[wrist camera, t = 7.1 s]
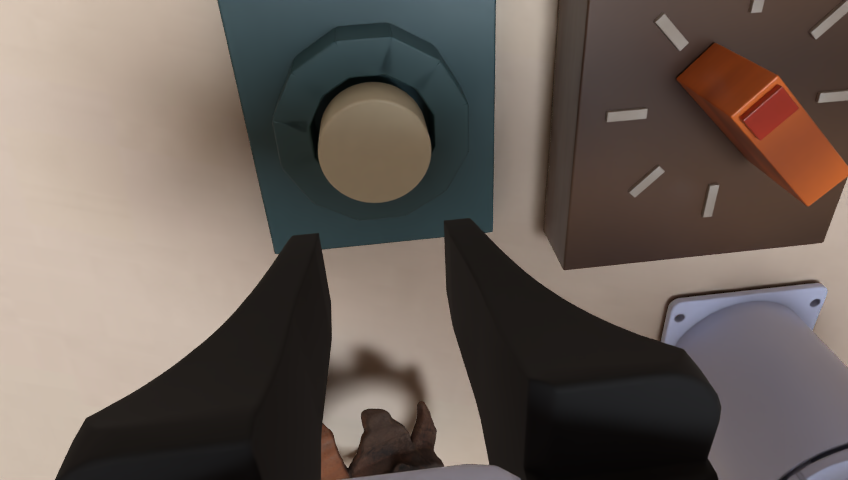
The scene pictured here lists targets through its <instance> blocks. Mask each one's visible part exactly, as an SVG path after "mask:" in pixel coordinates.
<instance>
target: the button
mask: <svg viewBox="0 0 848 480" xmlns="http://www.w3.org/2000/svg"><path fill="white" fill-rule="evenodd" d="M318 159H319V163H320V166H321V169H322V172H323V173H324V175H325V177H326V178H327V180H328V181H329V182H330V184H331V185H332V186H333V187H334V188H336V189H337V190H338V191H339V192H341V193H342V194H344V195H346V196H347V197H350V198H352V199H354V200H358V201H361V202H367V203H382V202H388V201H391V200H395V199H397V198H400V197H402V196H403V195H405V194H407V193H408V192H410V191H411V190H412V189H413V188H415V187H416V186H417V185H418V183H419V182H420V181H421V180H422V178H423V177H424V175H425V174H426V172H427V169H428V167H429V164H430V160H431V141H430V137H429V133H428V130H427V126H426V123H425V119H424V116H423V114H422V111H421V109H420V108H419V106H418V104H417V103H416V102H415V101H414V99H413V98H412V97H411V96H409V95H408V94H407V93H406V92H404V91H403V90H401V89H399V88H398V87H395V86H393V85H390V84H386V83H381V82H365V83H359V84H356V85H353V86H351V87H348V88H346V89H345V90H343V91H341V92H340V93H339V94H338V95H336V96H335V97H334V98H333V99H332V100H331V102H330V103H329V104H328V106H327V107H326V109H325V111H324V113H323V116H322V119H321V124H320V132H319V142H318Z"/></svg>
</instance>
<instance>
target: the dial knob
mask: <svg viewBox="0 0 848 480" xmlns="http://www.w3.org/2000/svg"><path fill="white" fill-rule="evenodd" d="M676 79H677V81H678V82H679V83H680V84H681V85H682V87H683V88H684V89H685V90H686V91H687V92H688V93H689V94H690V96H691V97H692V98H693V99H694V100H695V101H696V102H697V104H698V105H699V106H700V107H701V108H702V109H703V110H704V111H705V113H706V114H707V115H708V116H709V117H710V118H711V119H712V120H713V122H714V123H715V124H716V125H717V126H718V127H719V128H720V130H721V131H722V132H723V133H724V134H725V135H726V136H727V137H728V139H729V140H730V141H731V142H732V143H733V144H734V145H735V147H736V148H737V149H738V150H739V151H740V152H741V153H742V154H743V156H744V157H745V158H746V159H747V160H748V161H749V162H750V163H752V164H753V165H754V166H756V167H757V168H758V169H759V170H761V171H762V172H763V173H765V174H766V175H767V176H768V177H770V178H771V179H772V180H774V181H775V182H776V183H777V184H779V185H780V186H781V187H783V188H784V189H785V190H786V191H788V192H789V193H790V194H792V195H793V196H794V197H795V198H797V199H798V200H799V201H801V202H802V203H803V204H804V205H806V206H810V205H811V204H813V203H814V202H815V201H817V200H818V199H819V198H820V197H822V196H823V195H824V194H826V193H827V192H828V191H830V190H831V189H832V188H833V187H835V186H836V185H837V184H839V183H840V182H841V181H842V180H844V179H845V178H846V177H848V166H847V164H846V163H845V162H844V160H843V159H842V158H841V156H840V155H839V154H838V153H837V151H836V150H835V149H834V147H833V146H832V145H831V143H830V142H829V141H828V140H827V138H826V137H825V136H824V134H823V133H822V132H821V130H820V129H819V128H818V126H817V125H816V124H815V123H814V121H813V120H812V119H811V117H810V116H809V115H808V113H807V112H806V111H805V109H804V108H803V107H802V106H801V104H800V103H799V102H798V100H797V99H796V98H795V96H794V95H793V94H792V92H791V91H790V90H789V89H788V87H787V86H786V85H785V83H784V82H783V81H782V79H781V78H780V77H779V76H778V75H777V74H775V73H773V72H771V71H769V70H767V69H765V68H763V67H761V66H759V65H757V64H756V63H754V62H752V61H750V60H748V59H746V58H744V57H742V56H740V55H738V54H736V53H735V52H733V51H731V50H729V49H727V48H725V47H723V46H721V45H719V44H717V43H714V44H713V45H712V46H710V47H709V48H708V49H707V50H706V51H705V52H704V53H703V54H702V55H701V56H700V57H699V58H698V59H697V60H695V61H694V62H693V63H692V64H691V65H690V66H689V67H688V68H687V69H686V70H685V71H684V72H683V73H681V74H680V75H679V76H678V77H677V78H676Z"/></svg>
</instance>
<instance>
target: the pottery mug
mask: <svg viewBox="0 0 848 480" xmlns="http://www.w3.org/2000/svg"><path fill="white" fill-rule="evenodd" d="M361 419H362V424H363V428H364V433H363V434H362V436H361V441H360V444H359V448H358V450H357V454H356V455H355V457H354V459H353V461H352V463H351V464H350V466H349V468H347V467H346V466H345V464H344V462H343V460H342V458H341V456H340V454H339V451H338V449H337V446H336V444H335V440H334V435H333V433H332V431H331V430H330V429H328V428H327V427H326V426H325V425H324V424H323V423H322V435H321V480H342V479H350V478H358V477H366V476H374V475H382V474H390V473H398V472H406V471H414V470H422V469H430V468H438V467H444V464H443V463H442V461H441V460H440V459H439V458H438V457H437V456H436V454H435V452H434V444H435V440H436V432H437V430H436V428H435V426H434V423H433V420H432V418H431V415H430V412H429V410H428V408H427V406H426V404H425V402H423V401H420V402H419V403H418V405H417V419H416V423H415V426H414V429H413V431H412V434H411V437H410V434H409V432H408V430H407V429H406V428H405V427H404V426H403V425H402V424H400V423H399V422H397V421H395V420H394V419H392V417H391V415H390V414H389V413H388V412H387V411H385V410H383V409H367V410H364V411H363V412H362V413H361Z"/></svg>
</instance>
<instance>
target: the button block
mask: <svg viewBox="0 0 848 480" xmlns="http://www.w3.org/2000/svg"><path fill="white" fill-rule="evenodd" d="M218 5H219V9H220V14H221V18H222V23H223V27H224V31H225V36H226V40H227V45H228V49H229V53H230V58H231V62H232V67H233V71H234V75H235V80H236V84H237V89H238V93H239V97H240V102H241V106H242V111H243V115H244V119H245V124H246V128H247V133H248V137H249V141H250V146H251V150H252V155H253V159H254V163H255V168H256V172H257V177H258V181H259V186H260V190H261V194H262V199H263V203H264V208H265V212H266V216H267V221H268V225H269V230H270V234H271V238H272V243H273V247H274V252H275V254H280V252H281V251H282V249H283V247H284V246H285V244H286V243H287V241H288V240H289V239H290V238H291V237H292V236H293V235H303V234H313V233H319V237H320V242H321V248H322V249H331V248H341V247H351V246H361V245H371V244H380V243H390V242H400V241H410V240H420V239H430V238H440V237H444V220H454V219H464V218H470V219H472V220H473V221H474V222H475V223H476V224H477V225H478V226H479V228H480V229H481V230H482V231H483V232H484V233H489V232H492V231H493V181H494V104H495V27H496V0H218ZM365 82H381V83H386V84H390V85H393V86H395V87H398V88H399V89H401V90H403V91H404V92H406V93H407V94H408V95H409V96H411V97H412V98H413V99H414V101H415V102H416V103H417V104H418V106H419V108H420V109H421V111H422V114H423V116H424V119H425V123H426V126H427V130H428V133H429V137H430V141H431V160H430V164H429V167H428V169H427V172H426V174H425V175H424V177H423V178H422V180H421V181H420V182H419V183H418V185H417V186H416V187H415V188H413V189H412V190H411V191H410V192H408V193H407V194H405V195H403V196H402V197H400V198H397V199H395V200H391V201H388V202H382V203H367V202H361V201H358V200H354V199H352V198H350V197H347V196H346V195H344V194H342V193H341V192H339V191H338V190H337V189H336V188H334V187H333V186H332V185H331V184H330V182H329V181H328V180H327V178H326V177H325V175H324V173H323V172H322V169H321V166H320V163H319V159H318V142H319V132H320V124H321V119H322V116H323V113H324V111H325V109H326V107H327V106H328V104H329V103H330V102H331V100H332V99H333V98H334V97H335V96H336V95H338V94H339V93H340V92H341V91H343V90H345V89H346V88H348V87H351V86H353V85H356V84H359V83H365Z"/></svg>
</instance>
